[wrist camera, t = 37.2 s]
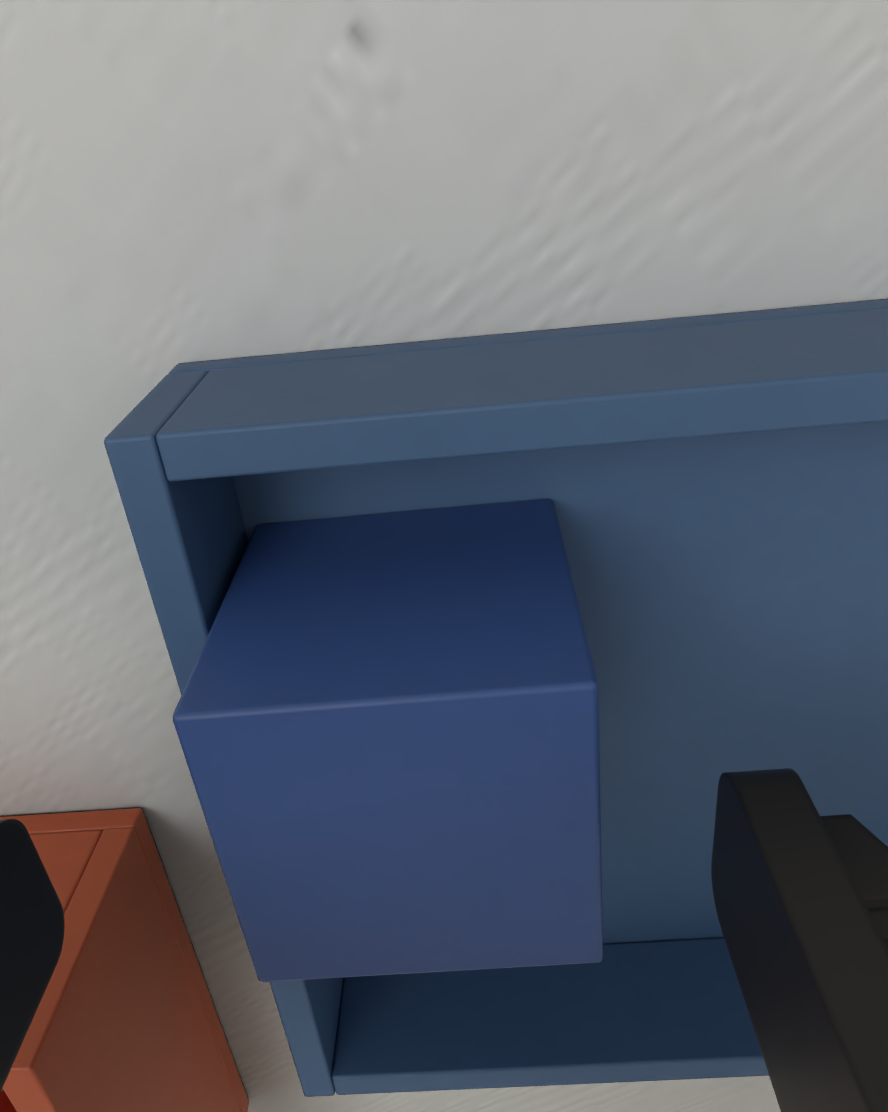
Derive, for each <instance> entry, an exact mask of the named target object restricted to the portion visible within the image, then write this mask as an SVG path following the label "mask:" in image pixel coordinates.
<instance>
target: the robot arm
mask: <svg viewBox="0 0 888 1112" xmlns="http://www.w3.org/2000/svg"><path fill="white" fill-rule="evenodd" d="M711 878H712V889H713V896H714V902H715V907H716V912H717V916H718V920H719V923H720V927H721V930H722V933H723V936H724V939H725V942H726V945H727V948H728V951H729V954H730V957H731V960H732V963H733V966H734V969H735V972H736V975H737V978H738V982H739V985H740V988H741V991H742V994H743V997H744V1000H745V1003H746V1006H747V1009H748V1012H749V1015H750V1018H751V1021H752V1024H753V1027H754V1030H755V1033H756V1036H757V1039H758V1043H759V1046H760V1049H761V1052H762V1055H763V1058H764V1061H765V1064H766V1067H767V1070H768V1073H769V1076H770V1079H771V1082H772V1085H773V1088H774V1091H775V1094H776V1097H777V1101H778V1104H779V1107H780V1110H781V1112H888V846H886V845H885V844H884V843H883V842H882V841H881V840H880V839H878V838H877V837H876V836H875V835H874V834H873V833H872V832H870V831H869V830H868V829H867V828H866V827H865V826H864V825H862V824H861V823H860V822H859V821H858V820H857V819H856V818H855V817H853V816H852V815H851V814H845V815H830V816H820V815H819V813H818V811H817V809H816V807H815V806H814V804H813V802H812V800H811V798H810V796H809V794H808V792H807V790H806V788H805V786H804V784H803V782H802V780H801V779H800V777H799V775H798V774H797V773H796V772H795V771H794V770H793V769H791V768H785V769H770V770H755V771H741V772H726V773H722V774H721V776H720V779H719V784H718V793H717V805H716V816H715V828H714V839H713V851H712V862H711ZM64 930H65V922H64V912H63V908H62V905H61V902H60V900H59V898H58V895H57V893H56V891H55V889H54V887H53V885H52V882H51V880H50V878H49V876H48V874H47V872H46V869H45V867H44V865H43V863H42V861H41V859H40V856H39V854H38V852H37V850H36V848H35V846H34V843H33V841H32V839H31V837H30V835H29V833H28V831H27V829H26V827H25V826H24V825H23V823H22V822H20V821H19V820H17V819H1V820H0V1092H1V1090H2V1088H3V1086H4V1083H5V1081H6V1079H7V1077H8V1074H9V1072H10V1070H11V1067H12V1065H13V1063H14V1061H15V1058H16V1056H17V1054H18V1052H19V1049H20V1047H21V1045H22V1042H23V1040H24V1038H25V1036H26V1033H27V1031H28V1029H29V1027H30V1024H31V1022H32V1020H33V1017H34V1015H35V1013H36V1011H37V1008H38V1006H39V1004H40V1002H41V999H42V997H43V995H44V992H45V990H46V988H47V986H48V983H49V981H50V979H51V977H52V974H53V972H54V970H55V967H56V965H57V963H58V960H59V957H60V954H61V951H62V946H63V940H64Z"/></svg>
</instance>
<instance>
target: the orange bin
mask: <svg viewBox="0 0 888 1112" xmlns="http://www.w3.org/2000/svg"><path fill="white" fill-rule="evenodd" d="M1 819H17V820H19V821H20V822H22V823H23V825H24V826H25V827H26V829H27V831H28V833H29V835H30V837H31V839H32V841H33V843H34V846H35V848H36V850H37V852H38V854H39V856H40V859H41V861H42V863H43V865H44V867H45V869H46V872H47V874H48V876H49V878H50V880H51V882H52V885H53V887H54V889H55V891H56V893H57V895H58V898H59V900H60V902H61V905H62V908H63V912H64V922H65V930H64V940H63V946H62V951H61V954H60V957H59V960H58V963H57V965H56V967H55V970H54V972H53V974H52V977H51V979H50V981H49V983H48V986H47V988H46V990H45V992H44V995H43V997H42V999H41V1002H40V1004H39V1006H38V1008H37V1011H36V1013H35V1015H34V1017H33V1020H32V1022H31V1024H30V1027H29V1029H28V1031H27V1033H26V1036H25V1038H24V1040H23V1042H22V1045H21V1047H20V1049H19V1052H18V1054H17V1056H16V1058H15V1061H14V1063H13V1065H12V1067H11V1070H10V1072H9V1074H8V1077H7V1079H6V1081H5V1083H4V1086H3V1088H2V1090H1V1091H3V1090H4V1091H5V1093H6V1095H7V1096H8V1098H9V1099H10V1101H11V1103H12V1104H13V1106H14V1108H15V1109H16V1111H17V1112H247V1110H248V1105H249V1100H248V1098H247V1095H246V1092H245V1089H244V1087H243V1084H242V1081H241V1078H240V1076H239V1073H238V1070H237V1068H236V1065H235V1062H234V1059H233V1057H232V1054H231V1051H230V1048H229V1046H228V1043H227V1040H226V1037H225V1035H224V1032H223V1029H222V1027H221V1024H220V1021H219V1018H218V1016H217V1013H216V1010H215V1007H214V1005H213V1002H212V999H211V996H210V994H209V991H208V988H207V985H206V983H205V980H204V977H203V975H202V972H201V969H200V966H199V964H198V961H197V958H196V955H195V953H194V950H193V947H192V944H191V942H190V939H189V936H188V933H187V931H186V928H185V925H184V923H183V920H182V917H181V914H180V912H179V909H178V906H177V903H176V901H175V898H174V895H173V892H172V890H171V887H170V884H169V882H168V879H167V876H166V873H165V871H164V868H163V865H162V862H161V860H160V857H159V854H158V851H157V849H156V846H155V843H154V840H153V838H152V835H151V832H150V830H149V827H148V824H147V821H146V819H145V816H144V813H143V810H142V809H141V808H131V809H115V810H100V811H84V812H68V813H53V814H37V815H21V816H5V817H0V820H1Z"/></svg>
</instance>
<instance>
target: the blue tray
mask: <svg viewBox="0 0 888 1112" xmlns="http://www.w3.org/2000/svg"><path fill="white" fill-rule="evenodd" d="M104 444H105V447H106V450H107V454H108V457H109V460H110V463H111V467H112V470H113V473H114V476H115V480H116V483H117V486H118V489H119V493H120V496H121V499H122V502H123V506H124V509H125V512H126V516H127V519H128V522H129V525H130V529H131V532H132V535H133V538H134V542H135V545H136V548H137V551H138V555H139V558H140V561H141V564H142V568H143V571H144V574H145V577H146V581H147V584H148V587H149V590H150V594H151V597H152V600H153V604H154V607H155V610H156V613H157V617H158V620H159V623H160V626H161V630H162V633H163V636H164V639H165V643H166V646H167V649H168V652H169V656H170V659H171V662H172V665H173V669H174V672H175V675H176V678H177V682H178V685H179V688H180V691H181V695H182V693H183V691H184V689H185V687H186V684H187V682H188V680H189V678H190V675H191V673H192V671H193V668H194V666H195V664H196V662H197V659H198V657H199V655H200V653H201V650H202V648H203V646H204V643H205V641H206V639H207V637H208V634H209V632H210V630H211V628H212V625H213V623H214V621H215V618H216V616H217V614H218V612H219V609H220V607H221V605H222V603H223V600H224V598H225V596H226V594H227V591H228V589H229V587H230V584H231V582H232V580H233V578H234V575H235V573H236V571H237V569H238V566H239V564H240V562H241V559H242V557H243V555H244V553H245V550H246V548H247V546H248V544H249V541H250V539H251V537H252V534H253V532H254V530H255V528H256V526H258V525H261V524H272V523H284V522H295V521H306V520H318V519H329V518H340V517H351V516H363V515H374V514H385V513H396V512H408V511H419V510H430V509H442V508H453V507H464V506H475V505H487V504H498V503H509V502H521V501H532V500H543V499H550V500H552V501H553V502H554V505H555V509H556V513H557V518H558V522H559V526H560V530H561V534H562V538H563V542H564V546H565V550H566V554H567V558H568V563H569V567H570V571H571V575H572V579H573V583H574V587H575V591H576V595H577V599H578V603H579V608H580V612H581V616H582V620H583V624H584V628H585V632H586V636H587V640H588V644H589V648H590V653H591V657H592V661H593V665H594V669H595V673H596V677H597V681H598V685H599V739H600V799H601V858H602V918H603V958H602V961H600V962H598V963H583V964H566V965H549V966H531V967H514V968H497V969H480V970H462V971H445V972H428V973H411V974H393V975H376V976H359V977H341V978H324V979H307V980H290V981H272V982H270V985H271V988H272V991H273V995H274V998H275V1001H276V1004H277V1008H278V1011H279V1014H280V1017H281V1021H282V1024H283V1027H284V1030H285V1034H286V1037H287V1040H288V1043H289V1047H290V1050H291V1053H292V1056H293V1060H294V1063H295V1066H296V1069H297V1073H298V1076H299V1079H300V1083H301V1086H302V1089H303V1092H304V1095H305V1096H307V1097H311V1096H332V1095H334V1094H335V1091H336V1094H338V1095H347V1094H369V1093H391V1092H413V1091H435V1090H458V1089H480V1088H502V1087H524V1086H546V1085H568V1084H590V1083H613V1082H635V1081H657V1080H679V1079H701V1078H723V1077H745V1076H768V1075H769V1073H768V1070H767V1067H766V1064H765V1061H764V1058H763V1055H762V1052H761V1049H760V1046H759V1043H758V1039H757V1036H756V1033H755V1030H754V1027H753V1024H752V1021H751V1018H750V1015H749V1012H748V1009H747V1006H746V1003H745V1000H744V997H743V994H742V991H741V988H740V985H739V982H738V978H737V975H736V972H735V969H734V966H733V963H732V960H731V957H730V954H729V951H728V948H727V945H726V942H725V939H724V936H723V933H722V930H721V927H720V923H719V920H718V916H717V912H716V907H715V902H714V896H713V889H712V878H711V862H712V851H713V839H714V828H715V816H716V805H717V793H718V784H719V779H720V776H721V774H722V773H726V772H741V771H755V770H770V769H785V768H791V769H793V770H794V771H795V772H796V773H797V774H798V775H799V777H800V779H801V780H802V782H803V784H804V786H805V788H806V790H807V792H808V794H809V796H810V798H811V800H812V802H813V804H814V806H815V807H816V809H817V811H818V813H819V815H820V816H830V815H845V814H851V815H852V816H853V817H855V818H856V819H857V820H858V821H859V822H860V823H861V824H862V825H864V826H865V827H866V828H867V829H868V830H869V831H870V832H872V833H873V834H874V835H875V836H876V837H877V838H878V839H880V840H881V841H882V842H883V843H884V844H885V845H886V846H888V299H880V300H869V301H858V302H847V303H836V304H826V305H815V306H804V307H793V308H782V309H771V310H760V311H749V312H738V313H727V314H716V315H705V316H694V317H683V318H672V319H661V320H650V321H639V322H628V323H617V324H606V325H595V326H584V327H573V328H562V329H551V330H540V331H529V332H518V333H507V334H496V335H485V336H474V337H463V338H453V339H442V340H431V341H420V342H409V343H398V344H387V345H376V346H365V347H354V348H343V349H332V350H321V351H310V352H299V353H288V354H277V355H266V356H255V357H244V358H233V359H222V360H211V361H200V362H189V363H179V364H177V365H176V366H175V367H174V368H173V369H172V370H171V371H170V372H169V374H168V375H166V376H165V377H164V378H163V379H162V380H161V381H160V383H159V384H158V385H157V386H156V387H155V388H154V389H153V390H152V391H151V392H150V393H149V394H148V395H147V396H146V397H145V398H144V399H143V400H142V401H141V402H140V403H139V404H138V405H137V406H136V407H135V408H134V409H133V410H132V411H131V412H130V413H129V414H128V415H127V416H126V417H125V418H124V419H123V421H122V422H121V423H120V424H119V425H118V426H117V427H116V428H115V429H114V430H113V431H112V432H111V433H110V434H109V435H108V436H107V437H106V438H105V440H104Z"/></svg>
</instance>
